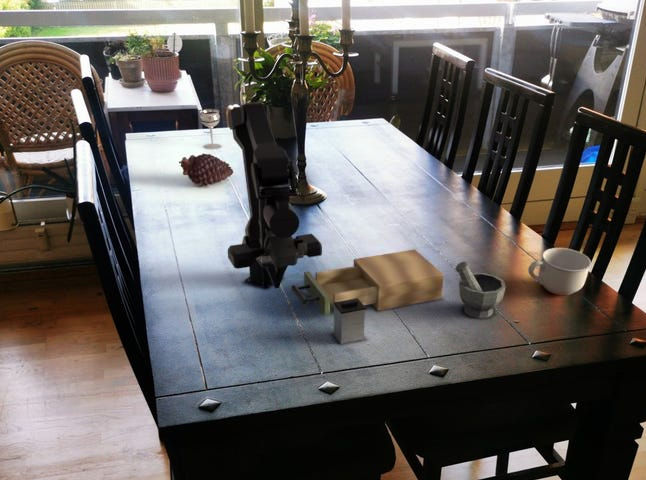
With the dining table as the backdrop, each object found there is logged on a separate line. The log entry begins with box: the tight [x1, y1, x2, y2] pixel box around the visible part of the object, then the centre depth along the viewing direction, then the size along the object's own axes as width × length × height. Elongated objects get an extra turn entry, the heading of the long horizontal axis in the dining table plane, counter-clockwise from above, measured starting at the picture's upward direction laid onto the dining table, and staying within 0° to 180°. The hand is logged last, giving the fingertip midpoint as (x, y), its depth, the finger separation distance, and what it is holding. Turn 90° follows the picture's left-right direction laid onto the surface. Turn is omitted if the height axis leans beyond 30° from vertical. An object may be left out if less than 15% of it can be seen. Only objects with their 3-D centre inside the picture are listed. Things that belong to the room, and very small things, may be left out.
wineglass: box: [199, 108, 221, 150], centre depth 253 cm, size 7×7×12 cm
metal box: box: [333, 298, 367, 345], centre depth 147 cm, size 5×4×8 cm
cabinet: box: [352, 249, 445, 312], centre depth 165 cm, size 16×14×6 cm
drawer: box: [290, 265, 378, 316], centre depth 160 cm, size 19×13×4 cm
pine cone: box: [178, 153, 234, 187], centre depth 222 cm, size 18×10×10 cm
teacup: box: [527, 247, 592, 296], centre depth 166 cm, size 14×11×8 cm
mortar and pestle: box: [455, 261, 506, 319], centre depth 156 cm, size 11×9×12 cm
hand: (276, 287), depth 154 cm, fingers closed
